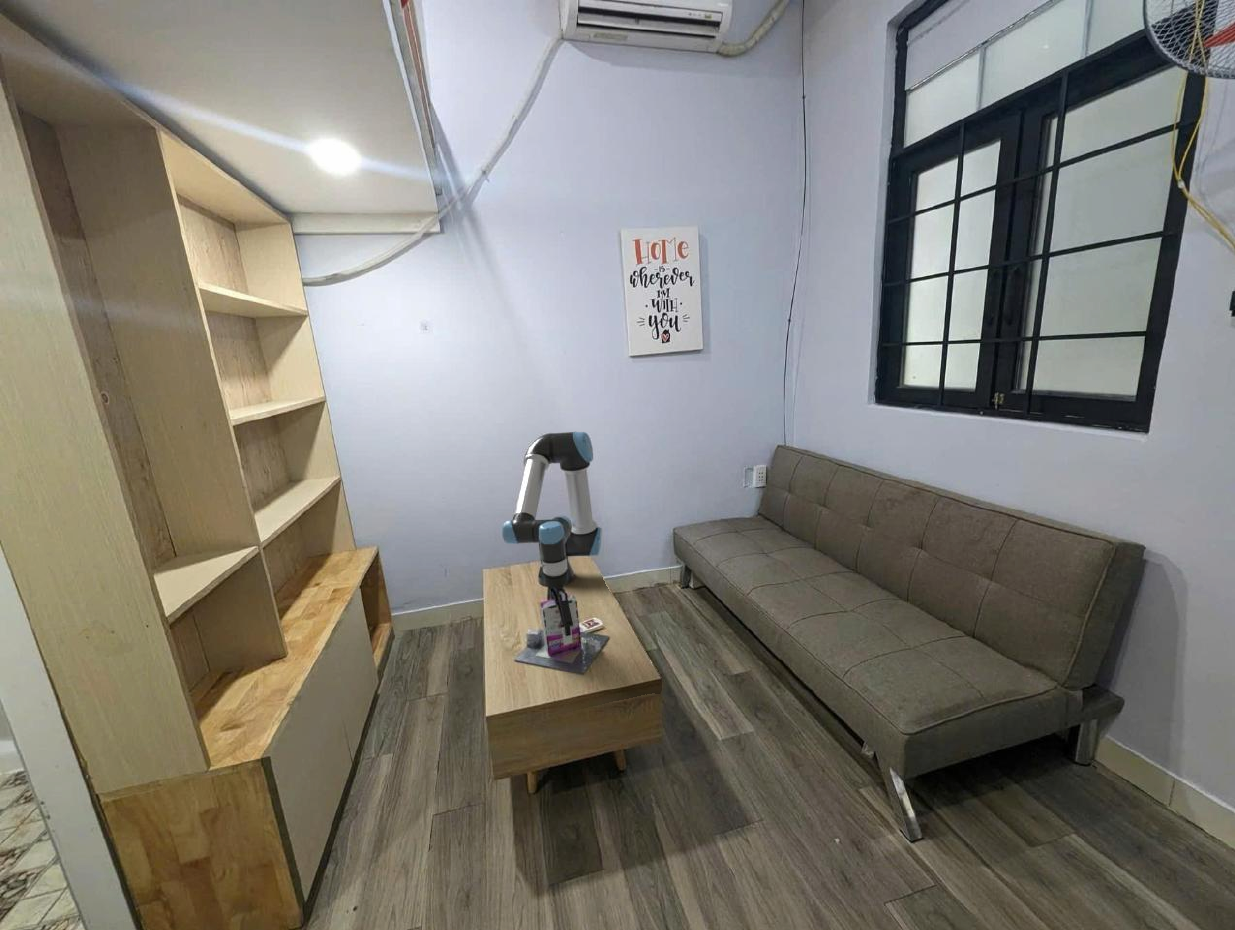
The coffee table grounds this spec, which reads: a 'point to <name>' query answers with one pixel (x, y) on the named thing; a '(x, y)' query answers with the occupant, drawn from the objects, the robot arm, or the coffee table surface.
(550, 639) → the candy bar box
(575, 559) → the coffee table surface
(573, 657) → the base
